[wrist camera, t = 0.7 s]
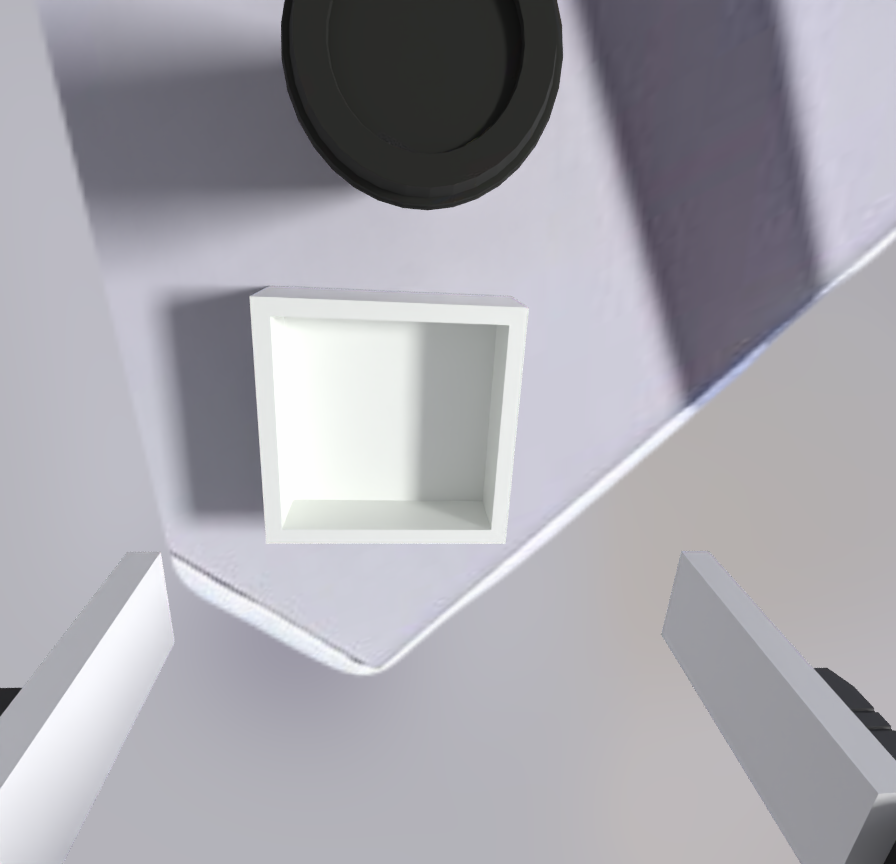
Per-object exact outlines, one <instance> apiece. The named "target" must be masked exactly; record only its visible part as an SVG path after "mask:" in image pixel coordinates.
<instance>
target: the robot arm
mask: <svg viewBox="0 0 896 864" xmlns="http://www.w3.org/2000/svg"><path fill="white" fill-rule="evenodd" d="M662 637H663V638H664V640H665V641H666V643H667V645H668V646H669V648H670V650H671V651H672V653H673V655H674V656H675V658H676V659H677V661H678V663H679V664H680V666H681V668H682V669H683V671H684V673H685V674H686V676H687V677H688V679H689V681H690V682H691V684H692V686H693V687H694V689H695V691H696V692H697V694H698V696H699V697H700V699H701V700H702V702H703V704H704V705H705V707H706V709H707V710H708V712H709V714H710V715H711V717H712V719H713V720H714V722H715V724H716V725H717V727H718V729H719V730H720V732H721V733H722V735H723V737H724V738H725V740H726V742H727V743H728V745H729V746H730V748H731V750H732V751H733V753H734V755H735V756H736V758H737V760H738V761H739V763H740V765H741V766H742V768H743V769H744V771H745V773H746V774H747V776H748V778H749V779H750V781H751V782H752V784H753V786H754V787H755V789H756V791H757V792H758V794H759V796H760V797H761V799H762V801H763V802H764V804H765V805H766V807H767V809H768V811H769V812H770V814H771V815H772V817H773V819H774V820H775V822H776V824H777V825H778V827H779V829H780V830H781V832H782V834H783V835H784V836H785V838H786V840H787V842H788V843H789V845H790V846H791V848H792V850H793V851H794V853H795V855H796V856H797V858H798V860H799V861H800V863H801V864H896V731H892V729H891V726H890V725H889V723H888V722H887V721H886V720H885V719H884V718H883V717H882V716H881V715H880V714H879V713H878V712H875V711H874V708H873V706H872V705H871V704H870V703H869V702H868V701H867V700H866V699H865V698H864V697H863V696H862V695H861V694H860V693H859V692H858V691H857V689H855V687H853V686H852V685H851V684H849V683H848V682H847V681H845V680H843V679H842V678H841V677H839V676H838V675H837V674H835V673H834V672H832V671H831V670H829V669H828V668H813V667H812V666H811V665H810V664H809V663H808V662H807V661H806V659H805V658H804V657H803V656H802V655H801V654H800V653H799V651H798V650H797V649H796V648H795V647H794V646H793V645H792V644H791V642H789V640H788V639H787V638H786V637H785V636H784V635H783V633H782V632H780V630H779V629H778V628H777V627H776V626H775V625H774V624H773V622H772V621H771V620H770V619H769V618H768V617H767V616H766V615H765V613H764V612H763V611H762V610H761V609H760V608H759V607H758V605H757V604H756V603H755V602H754V601H753V600H752V599H751V598H750V596H749V595H748V594H747V593H746V592H745V591H744V590H743V589H742V588H741V586H740V585H739V584H738V583H737V582H736V581H735V580H734V579H733V578H732V576H730V574H729V573H728V572H727V571H726V570H725V569H724V567H723V566H722V565H721V564H720V563H719V562H718V561H717V559H716V558H715V557H714V556H713V555H712V554H711V553H710V552H709V551H681V555H680V559H679V564H678V567H677V572H676V576H675V580H674V584H673V588H672V592H671V596H670V601H669V605H668V609H667V614H666V618H665V621H664V626H663V630H662ZM174 643H175V640H174V634H173V627H172V621H171V615H170V609H169V602H168V596H167V589H166V584H165V577H164V571H163V564H162V558H161V552H127V553H126V554H125V556H124V557H123V558H122V560H121V561H120V562H119V563H118V565H117V566H116V567H115V569H114V570H113V571H112V572H111V574H110V575H109V576H108V578H107V579H106V580H105V582H104V583H103V584H102V585H101V587H100V588H99V589H98V591H97V592H96V593H95V594H94V596H93V597H92V598H91V600H90V601H89V602H88V604H87V605H86V606H85V607H84V609H83V610H82V611H81V613H80V614H79V615H78V617H77V618H76V619H75V620H74V622H73V623H72V624H71V626H70V627H69V628H68V629H67V631H66V632H65V633H64V635H63V636H62V637H61V639H60V640H59V641H58V642H57V644H56V645H55V646H54V648H53V649H52V650H51V652H50V653H49V654H48V655H47V657H46V658H45V659H44V661H43V662H42V663H41V664H40V666H39V667H38V668H37V670H36V671H35V672H34V674H33V675H32V676H31V678H30V679H29V680H28V681H27V683H26V684H25V685H24V687H23V688H0V864H63V863H64V861H65V859H66V857H67V855H68V853H69V851H70V849H71V847H72V845H73V843H74V841H75V839H76V837H77V835H78V833H79V831H80V829H81V827H82V825H83V823H84V821H85V819H86V817H87V815H88V813H89V811H90V809H91V807H92V805H93V804H94V801H95V799H96V797H97V795H98V793H99V792H100V790H101V788H102V785H103V783H104V782H105V780H106V778H107V776H108V774H109V772H110V770H111V768H112V766H113V764H114V762H115V760H116V758H117V756H118V754H119V752H120V750H121V748H122V746H123V744H124V742H125V740H126V738H127V736H128V734H129V732H130V730H131V728H132V726H133V724H134V722H135V720H136V718H137V716H138V714H139V712H140V710H141V708H142V706H143V705H144V702H145V700H146V699H147V697H148V695H149V693H150V691H151V688H152V687H153V685H154V683H155V681H156V679H157V677H158V675H159V673H160V671H161V669H162V667H163V665H164V663H165V661H166V659H167V657H168V655H169V653H170V651H171V649H172V647H173V645H174Z"/></svg>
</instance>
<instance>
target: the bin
mask: <svg viewBox="0 0 896 864" xmlns="http://www.w3.org/2000/svg"><path fill="white" fill-rule="evenodd" d="M249 297H250V311H251V326H252V341H253V356H254V371H255V385H256V400H257V415H258V430H259V444H260V459H261V474H262V489H263V504H264V518H265V533H266V544H505V543H506V533H507V523H508V513H509V503H510V493H511V483H512V473H513V463H514V453H515V443H516V433H517V423H518V412H519V402H520V392H521V382H522V372H523V362H524V352H525V342H526V332H527V322H528V312H529V307H527V306H526V305H524V304H523V303H521V302H520V301H518V300H517V299H515V298H514V297H512V296H494V295H470V294H447V293H424V292H401V291H377V290H354V289H331V288H307V287H284V286H268V287H266V288H264V289H262V290H260V291H259V292H257V293H255V294H253V295H251V296H249Z"/></svg>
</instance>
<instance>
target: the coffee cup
mask: <svg viewBox="0 0 896 864" xmlns="http://www.w3.org/2000/svg"><path fill="white" fill-rule="evenodd" d="M281 49H282V63H283V69H284V74H285V79H286V85H287V90H288V93H289V96H290V99H291V101H292V104H293V107H294V110H295V112H296V115H297V118H298V121H299V122H300V124H301V126H302V128H303V129H304V131H305V133H306V134H307V136H308V138H309V140H310V141H311V143H312V145H313V147H314V148H315V149H316V150H317V152H318V153H319V154H320V155H321V156H322V157H323V159H324V160H325V161H326V162H327V163H328V165H329V166H330V167H331V168H332V169H333V170H334V171H335V172H336V173H337V174H339V175H340V176H341V177H342V178H343V179H345V180H346V181H347V182H348V183H350V184H351V185H352V186H353V187H354V188H356V189H358V190H360V191H362V192H364V193H366V194H367V195H369V196H371V197H373V198H375V199H377V200H379V201H382V202H385V203H389V204H392V205H395V206H398V207H402V208H410V209H421V210H433V209H442V208H450V207H455V206H458V205H461V204H464V203H467V202H469V201H472V200H475V199H478V198H479V197H481V196H483V195H484V194H486V193H488V192H489V191H491V190H493V189H495V188H496V187H498V186H499V185H501V184H502V183H503V182H504V181H505V180H506V179H507V178H508V177H509V176H511V175H512V174H513V173H514V172H515V171H516V170H517V169H518V168H519V167H520V166H521V165H522V163H523V162H524V161H525V159H526V158H527V157H528V155H529V154H530V153H531V151H532V150H533V149H534V148H535V146H536V144H537V143H538V141H539V139H540V137H541V135H542V133H543V131H544V129H545V127H546V125H547V123H548V121H549V118H550V115H551V112H552V109H553V105H554V102H555V99H556V96H557V92H558V89H559V83H560V75H561V68H562V60H563V44H562V23H561V18H560V13H559V8H558V4H557V0H285V2H284V8H283V15H282V21H281Z"/></svg>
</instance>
